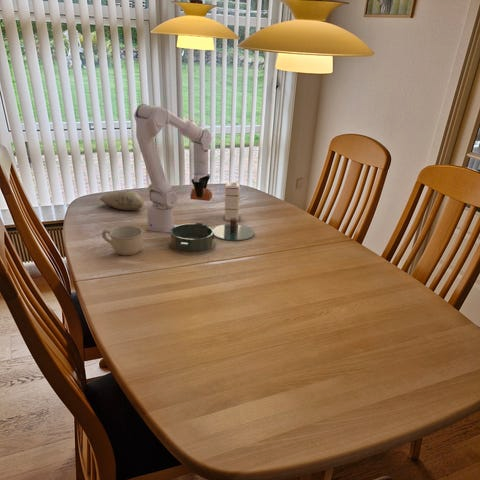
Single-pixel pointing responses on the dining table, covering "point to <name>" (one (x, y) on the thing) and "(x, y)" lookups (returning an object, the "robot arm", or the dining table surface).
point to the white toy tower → (232, 200)
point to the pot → (192, 244)
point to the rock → (123, 200)
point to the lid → (233, 231)
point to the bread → (206, 195)
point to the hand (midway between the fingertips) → (200, 195)
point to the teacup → (125, 239)
